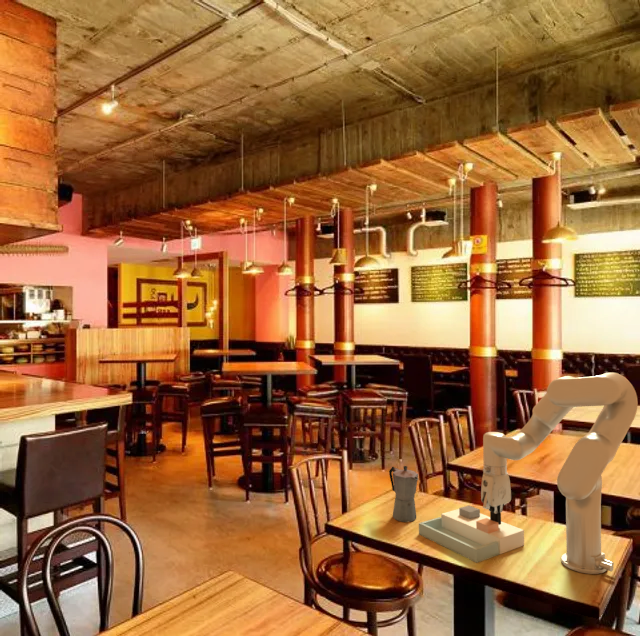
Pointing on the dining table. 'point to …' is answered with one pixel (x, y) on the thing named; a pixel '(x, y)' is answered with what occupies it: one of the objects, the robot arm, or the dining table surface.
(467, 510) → the slate tile
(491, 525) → the terracotta tile
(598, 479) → the robot arm
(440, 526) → the box
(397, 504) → the moka pot
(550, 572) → the dining table surface
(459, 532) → the board
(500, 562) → the dining table surface
